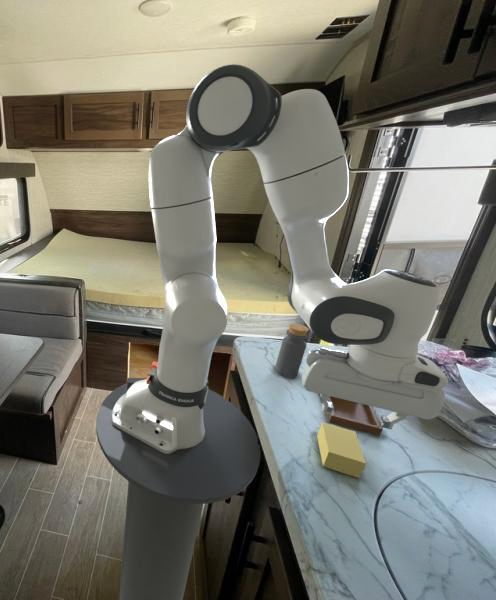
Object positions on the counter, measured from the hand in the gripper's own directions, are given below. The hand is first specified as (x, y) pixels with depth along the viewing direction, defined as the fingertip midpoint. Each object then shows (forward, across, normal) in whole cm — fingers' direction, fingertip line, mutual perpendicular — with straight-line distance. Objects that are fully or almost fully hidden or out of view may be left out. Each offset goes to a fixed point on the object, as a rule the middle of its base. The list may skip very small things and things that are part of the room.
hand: (354, 418), depth 63 cm
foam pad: (+10, -1, 0) cm, 10 cm away
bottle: (+10, -9, +29) cm, 32 cm away
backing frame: (+10, +4, +22) cm, 25 cm away
